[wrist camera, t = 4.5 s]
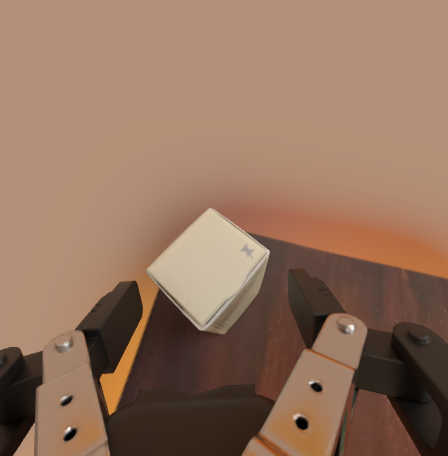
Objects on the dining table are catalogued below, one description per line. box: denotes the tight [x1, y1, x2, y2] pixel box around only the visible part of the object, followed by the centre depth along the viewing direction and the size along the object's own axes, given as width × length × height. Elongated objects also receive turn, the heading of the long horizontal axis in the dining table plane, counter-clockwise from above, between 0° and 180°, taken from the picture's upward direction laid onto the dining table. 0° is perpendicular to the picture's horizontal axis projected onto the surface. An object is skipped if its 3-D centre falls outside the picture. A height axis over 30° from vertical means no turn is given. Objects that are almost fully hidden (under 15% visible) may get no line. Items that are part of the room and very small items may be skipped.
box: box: [146, 208, 270, 335], centre depth 17 cm, size 5×4×11 cm
